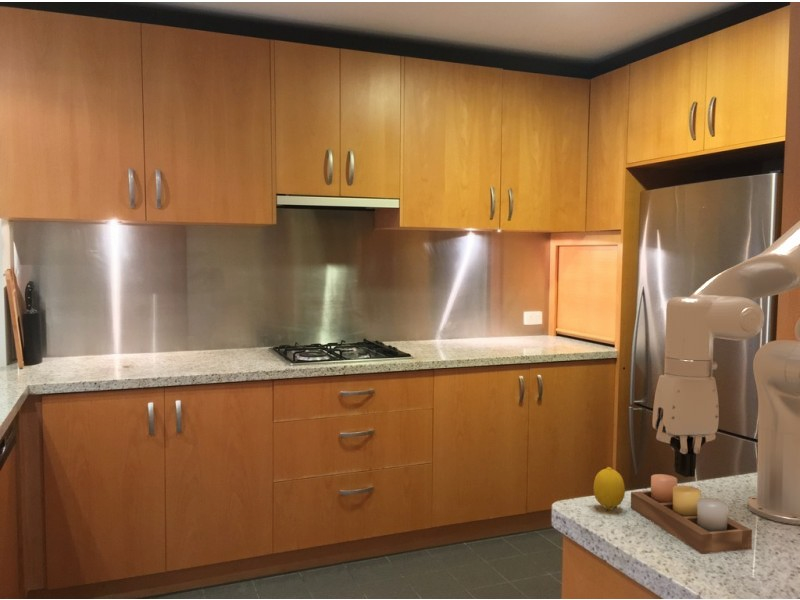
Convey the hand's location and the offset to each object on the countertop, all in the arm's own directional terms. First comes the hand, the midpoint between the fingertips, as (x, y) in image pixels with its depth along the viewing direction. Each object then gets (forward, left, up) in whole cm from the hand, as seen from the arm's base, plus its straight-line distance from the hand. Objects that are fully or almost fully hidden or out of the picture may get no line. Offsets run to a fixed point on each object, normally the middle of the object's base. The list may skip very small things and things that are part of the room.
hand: (684, 474), depth 110 cm
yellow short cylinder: (0, 0, -7) cm, 7 cm away
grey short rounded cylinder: (0, +6, -7) cm, 10 cm away
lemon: (+9, -10, -9) cm, 16 cm away
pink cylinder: (0, -7, -7) cm, 10 cm away
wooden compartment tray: (0, 0, -9) cm, 9 cm away
